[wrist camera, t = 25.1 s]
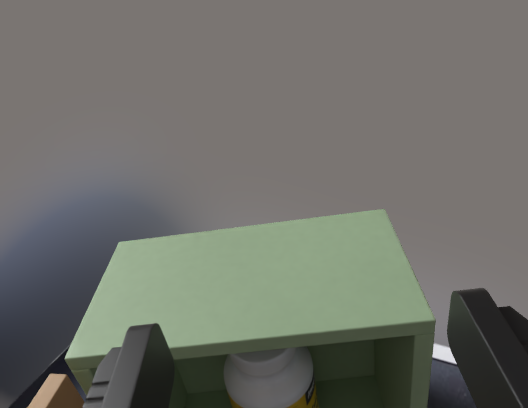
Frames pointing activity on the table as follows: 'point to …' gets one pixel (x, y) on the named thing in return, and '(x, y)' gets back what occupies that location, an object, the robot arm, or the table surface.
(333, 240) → the cabinet
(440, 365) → the table surface
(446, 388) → the table surface
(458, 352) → the robot arm
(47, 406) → the cabinet door
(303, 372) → the pill bottle
